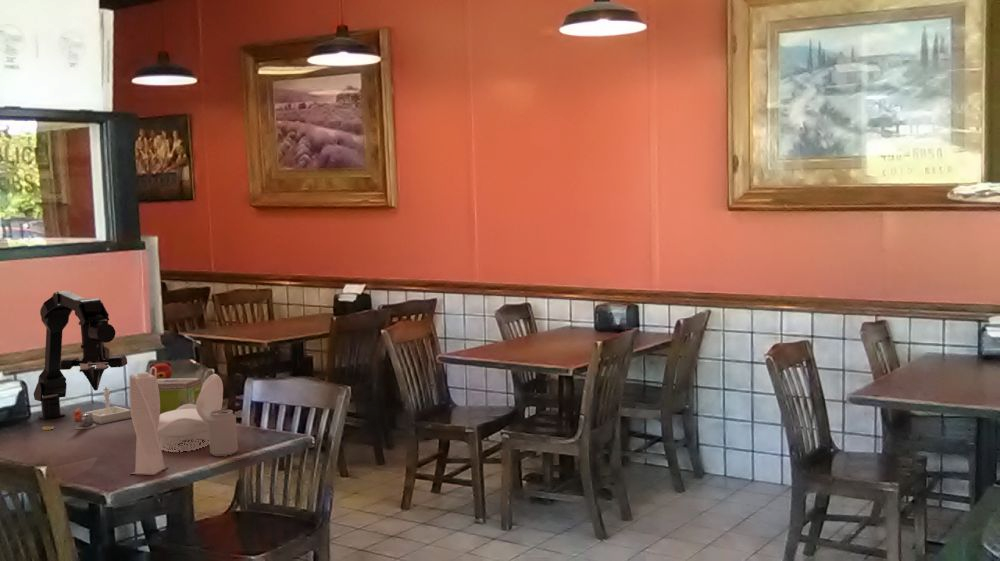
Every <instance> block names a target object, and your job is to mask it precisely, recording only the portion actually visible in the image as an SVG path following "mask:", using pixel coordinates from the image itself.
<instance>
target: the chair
mask: <svg viewBox="0 0 1000 561" xmlns="http://www.w3.org/2000/svg"><path fill="white" fill-rule="evenodd" d="M223 398H224V384H223V381H222V378H221V376H219V375H218V374H217V373H212V374H211V375H209V376H208V377H207V378H206V379H205V380H204V381H203V383H202V388H201V392H200V394H199V396H198V398H197V401H196V405H194V404H185V405H182V406H180V407H179V408H177V409H176V410H172V411H168V412H165V413H162V414H160V418H159V425H158V431H157V433H158V437H159V441H160V446H161V451H163V450H164V452H168V451H169V453H170V452H171V453H184V452H183V451H187V452H192V451H191V450H193V451H197V450H196V449H198V450H200V449H199V448H201V449H203V448H202V447H204V448H206V447H208V446H209V445H210V444H209V441H208V440H209V429H208V418H209V417H210V413H211V412H213V411H217V410H222V407H223ZM202 402H203V404H202ZM192 406H193V407H192ZM202 406H203V407H202ZM190 407H191V409H190ZM183 408H184V409H183ZM193 437H194V438H196V439H197V438H198V439H199V438H200V439H201V438H202V439H204V441H205V442H204V441H203V442H204V443H203V442H202V440H196V439H193V440H194V441H193V440H192V441H193V443H192V449H190V448H191V447H190V444H191V443H190V444H188V443H189V442H191V439H190V438H193ZM186 438H189V439H190V441H189V442H187V441H188V440H189V439H188V440H187V441H186V442H185V443H186V444H188V446H187V445H186V444H185V445H184V442H183V444H180V445H183V446H185V450H183V449H182V448H183V446H182V448H180V446H179V447H178V446H177V445H178V444H179V443H180V442H182V441H180V442H179V440H178V439H180V440H184V439H185V440H186ZM205 438H206V440H205ZM174 440H175V441H176V440H177V442H178V444H177V442H175V441H174ZM171 441H173V443H174V442H175V444H176V445H175V444H173V443H171V445H174V446H176V448H175V449H176V450H174V446H173V450H172V449H171V446H170V449H171V450H170V449H169V445H167V443H168V442H169V444H170V442H171ZM195 441H196V442H197V443H198V445H197V444H196V443H194V442H195ZM198 441H199V442H198ZM200 442H201V446H199V443H200ZM165 443H166V444H165ZM206 443H208V444H209V445H208V444H206ZM193 444H195V448H196V449H195V448H193V447H194V445H193ZM203 444H204V445H203ZM207 445H208V446H207ZM163 446H164V447H165V448H164V447H163ZM186 446H187V447H188V449H190V450H188V449H186ZM197 446H199V447H197ZM205 446H206V447H205ZM167 448H168V449H169V450H168V449H167ZM177 448H178V449H177ZM178 450H180V452H179V451H178Z"/></svg>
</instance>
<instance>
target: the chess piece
mask: <svg viewBox="0 0 1000 561" xmlns="http://www.w3.org/2000/svg"><path fill="white" fill-rule="evenodd" d="M103 391H105V392H103V393H102V394H103V396H104V399H103V402H105V408H106V409H105V412H104V413H105V414H103V415H107V414H112V413H111V410H110V407H111V406H110V401H111V399H110V398H109V397H110V394H111V392H109V391H110V388H108V387H107V386H105V388H103ZM101 416H102V415H101Z"/></svg>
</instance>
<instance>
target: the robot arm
mask: <svg viewBox="0 0 1000 561" xmlns="http://www.w3.org/2000/svg"><path fill="white" fill-rule="evenodd" d="M73 311H74V315H75V316H76V317H77V318H78V320H79V322H78V326H80V335H81V345H80V349H82V358H81V359H79V357H67V358H64V359H62V346H63V345H62V344H63V330H64V329H65V328H66V326H67V325H68V323H69V320H70V315H71V314H72V312H73ZM39 313H40V314H39V315H40V317H41V322H42V323H43V325H44V327H45V328H46V334H45V352H44V354H45V356H44V369H43V370H42V372H40V374H39V376H38V380H37V383H36V385H35V386H36V387H35V388H34V392H33V398H34V400H35V401H38V402H40V404H41V414H38V415H37V417H38V418H41V419H44V420H49V419H50V420H51V419H55V418H60V417H65V416H66V414H65V413H62V412H61V399H60V398H66V395H67V387H68V386H67V377H66V376H64V374H63V372H62V371H64V370H67V371H68V370H69V371H70V370H71V369H72V368H73V367H79V368H80V369H79V373H83V375H84V376H85V377H86V380H88V382H89V384H90V385H91V387H92V389H93V391H98V389H99V387H100V384H101V379H102V376H103V373H104V371H105V370H106V369H109V367H110V368H122V367H124V366H127V365H128V358H127V356H126V355H125V354H124V355H113V356H110V348H108V347H106V346H105V343H106V344H107V343H111V342H112V341H114V338H115V336H116V330H115V328H114V326H113V325H112V324H110V323H109V321H110V318H109V316H110V315H109V313H108V311H107V309H106V307H105V306H104V303H103V302H102V301H101V299H100V298H96V297H95V298H94V297H92V298H85V297H83V296H81V295H78V294H75V293H73V292H72V291H71V290H61V291H56V292H54V293H53V294H52V295H51V297H50V298H48V299H47V300H45V301H44V302H43V304H42V306H41V307H40V311H39Z"/></svg>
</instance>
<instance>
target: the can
mask: <svg viewBox="0 0 1000 561" xmlns="http://www.w3.org/2000/svg"><path fill="white" fill-rule="evenodd" d="M233 412H234V411H233V410H232V409H221V410H217V411H213V412H211V413H210V417H209V418H208V429H209V430H208V431H209V453H210V454H211V455H213V456H214V455H216V456H215V457H217V456H224V457H228V456H227V455H230V456H233V455H235V454H236V452H237V451H238V450H239V446H238V445H239V444H238V443H239V442H238V431H237V429H238V428H237V416H236V415H235V414H234V413H233ZM234 453H235V454H234ZM232 454H233V455H232Z"/></svg>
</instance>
